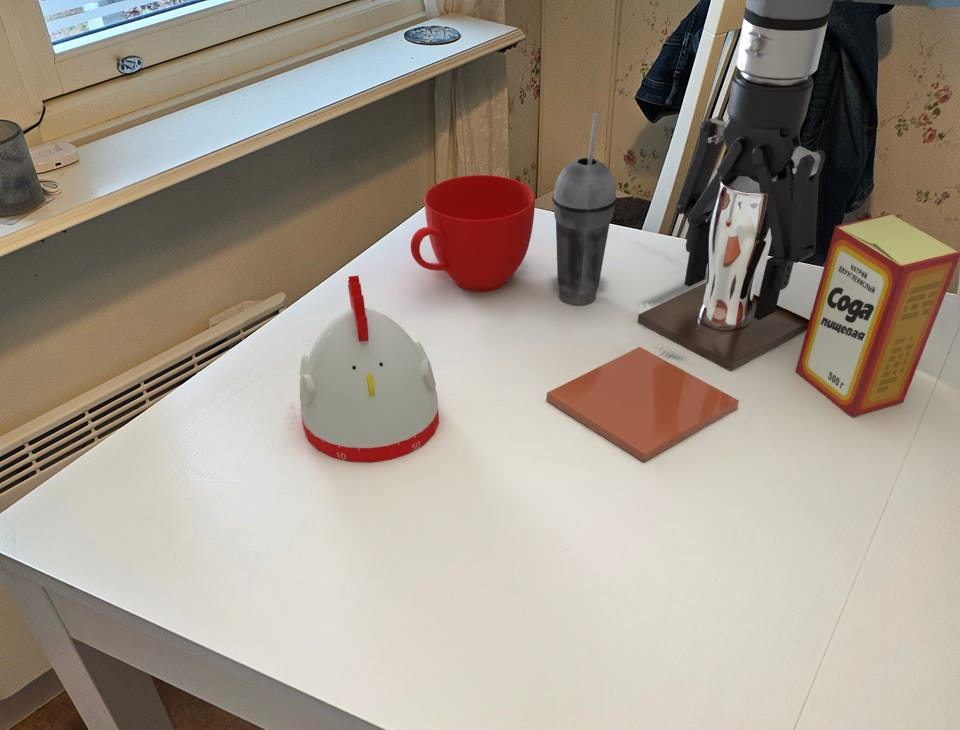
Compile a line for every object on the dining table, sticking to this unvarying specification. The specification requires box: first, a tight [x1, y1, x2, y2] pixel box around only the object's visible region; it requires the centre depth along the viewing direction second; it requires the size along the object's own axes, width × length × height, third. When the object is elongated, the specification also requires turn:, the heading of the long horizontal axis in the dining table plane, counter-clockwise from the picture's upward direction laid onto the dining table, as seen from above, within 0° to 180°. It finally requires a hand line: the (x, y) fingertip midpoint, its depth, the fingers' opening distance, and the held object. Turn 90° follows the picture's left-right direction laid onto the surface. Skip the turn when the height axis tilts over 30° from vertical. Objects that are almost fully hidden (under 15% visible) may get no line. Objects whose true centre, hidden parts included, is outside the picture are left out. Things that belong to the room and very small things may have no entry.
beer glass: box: [698, 176, 777, 330], centre depth 98 cm, size 7×7×15 cm
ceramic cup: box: [410, 174, 536, 293], centre depth 108 cm, size 13×17×10 cm
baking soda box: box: [794, 213, 960, 418], centre depth 89 cm, size 10×6×16 cm
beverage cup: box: [551, 111, 618, 307], centre depth 102 cm, size 7×7×20 cm
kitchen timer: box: [299, 275, 440, 463], centre depth 87 cm, size 14×14×15 cm
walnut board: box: [636, 281, 810, 372], centre depth 104 cm, size 14×14×1 cm
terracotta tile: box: [545, 346, 740, 463], centre depth 93 cm, size 14×14×1 cm
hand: (728, 297), depth 102 cm, fingers open, 9 cm apart
